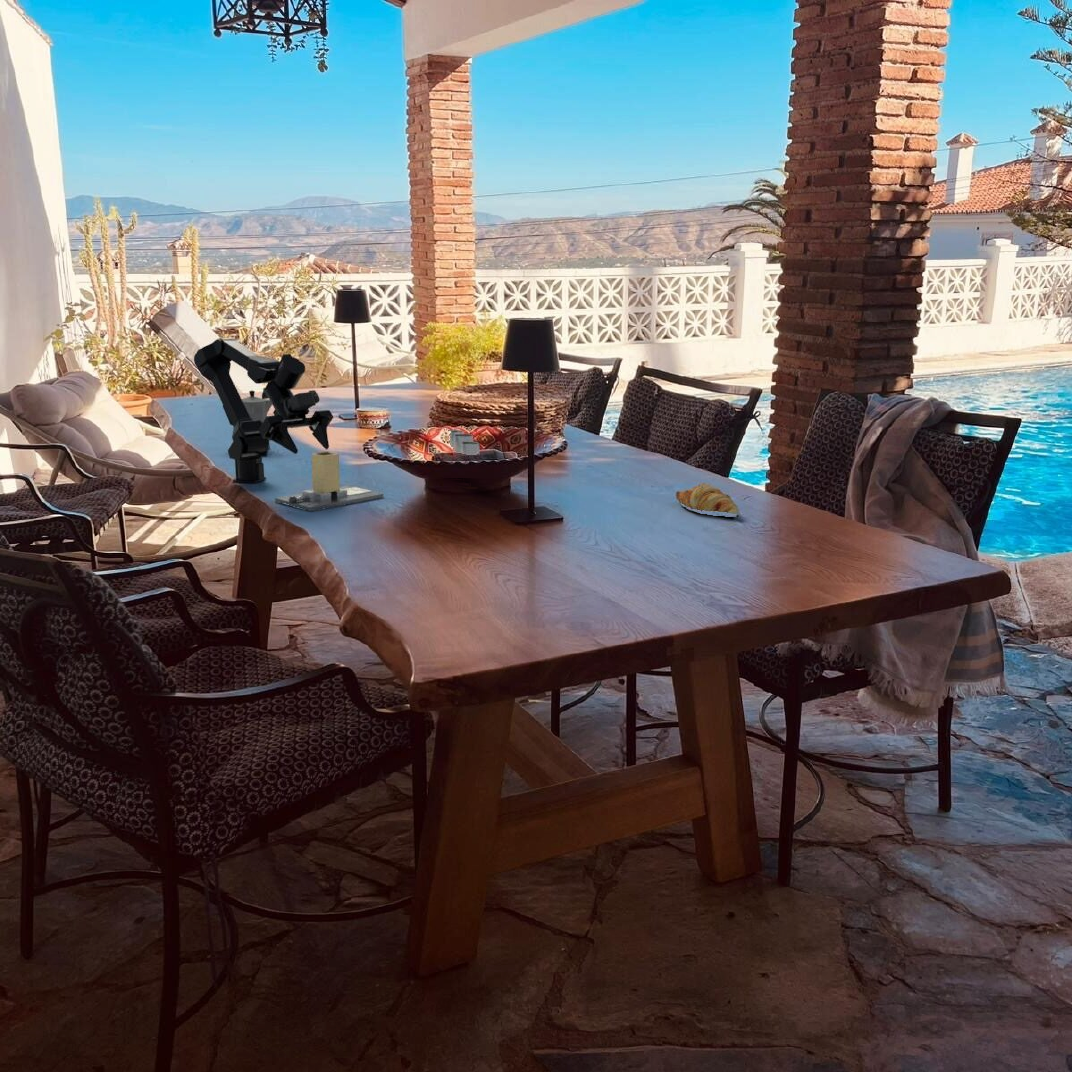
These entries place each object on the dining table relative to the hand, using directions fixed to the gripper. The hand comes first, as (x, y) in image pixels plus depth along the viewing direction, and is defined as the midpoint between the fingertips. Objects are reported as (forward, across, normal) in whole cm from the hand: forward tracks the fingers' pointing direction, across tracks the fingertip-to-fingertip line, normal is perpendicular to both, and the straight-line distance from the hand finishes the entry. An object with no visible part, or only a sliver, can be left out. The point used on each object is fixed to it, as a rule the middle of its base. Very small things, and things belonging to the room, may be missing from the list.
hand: (312, 450), depth 253 cm
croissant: (+63, +58, -45) cm, 96 cm away
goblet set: (+14, +41, +3) cm, 44 cm away
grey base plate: (+12, 0, +5) cm, 13 cm away
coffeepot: (-41, +28, +58) cm, 76 cm away
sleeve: (+10, 0, +3) cm, 10 cm away
